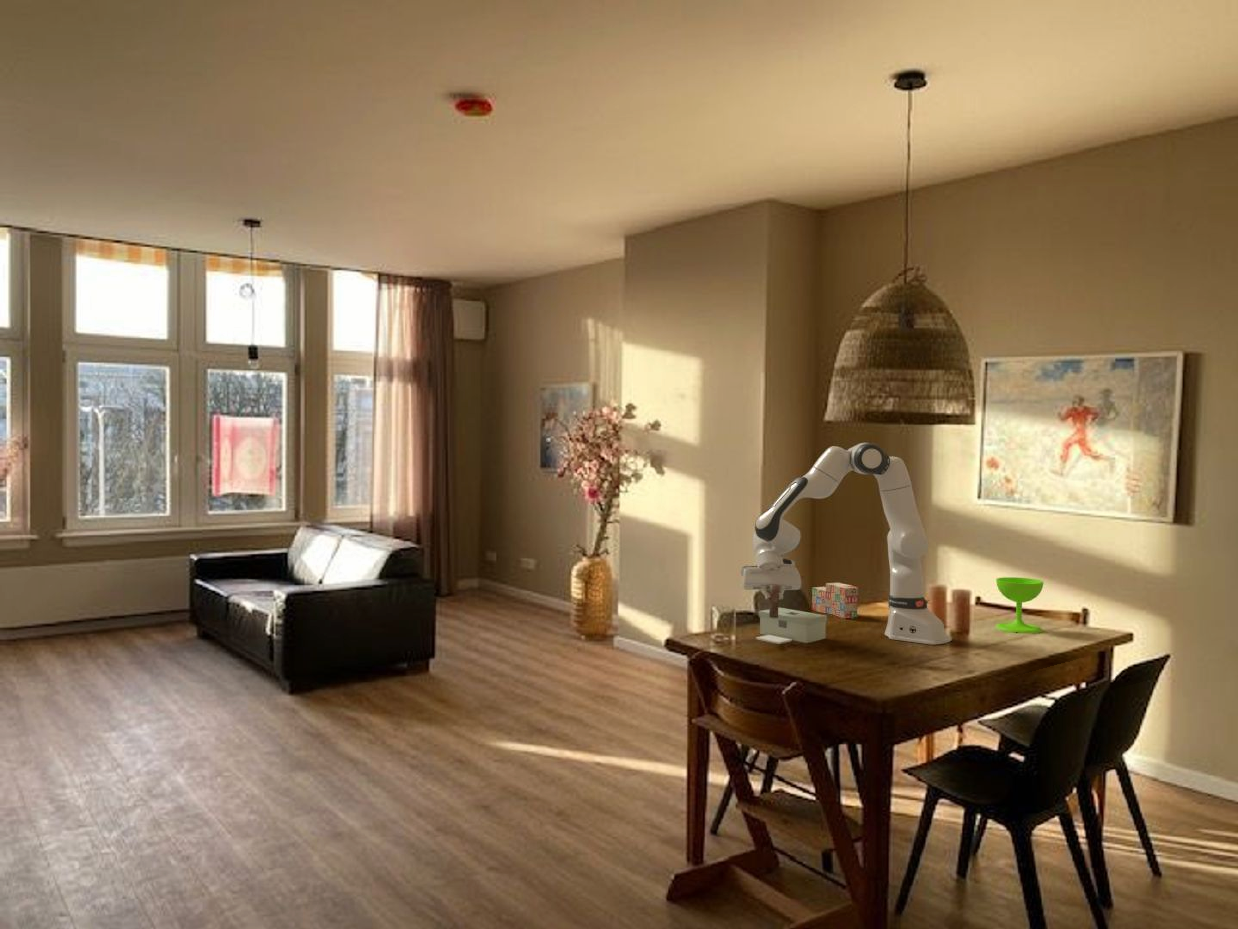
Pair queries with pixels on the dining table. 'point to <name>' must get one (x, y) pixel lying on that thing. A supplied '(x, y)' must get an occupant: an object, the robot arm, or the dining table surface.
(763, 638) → the felt mat
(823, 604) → the stack of blocks
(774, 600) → the walnut key
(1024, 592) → the wineglass
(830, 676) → the dining table surface
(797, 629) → the pale green lidded box
